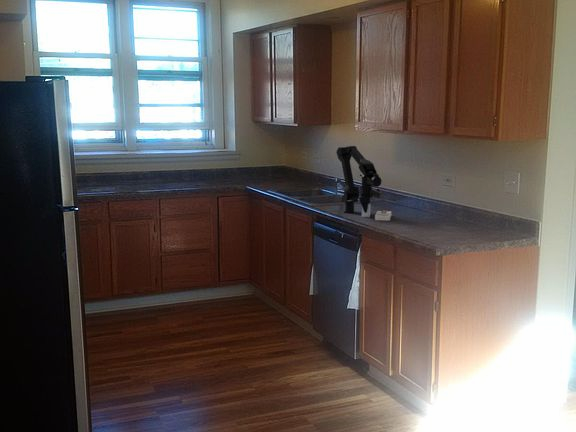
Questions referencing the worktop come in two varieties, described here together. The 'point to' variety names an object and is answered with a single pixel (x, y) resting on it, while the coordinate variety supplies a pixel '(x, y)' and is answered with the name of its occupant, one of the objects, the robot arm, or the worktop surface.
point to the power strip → (383, 215)
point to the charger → (367, 212)
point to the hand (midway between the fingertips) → (366, 211)
